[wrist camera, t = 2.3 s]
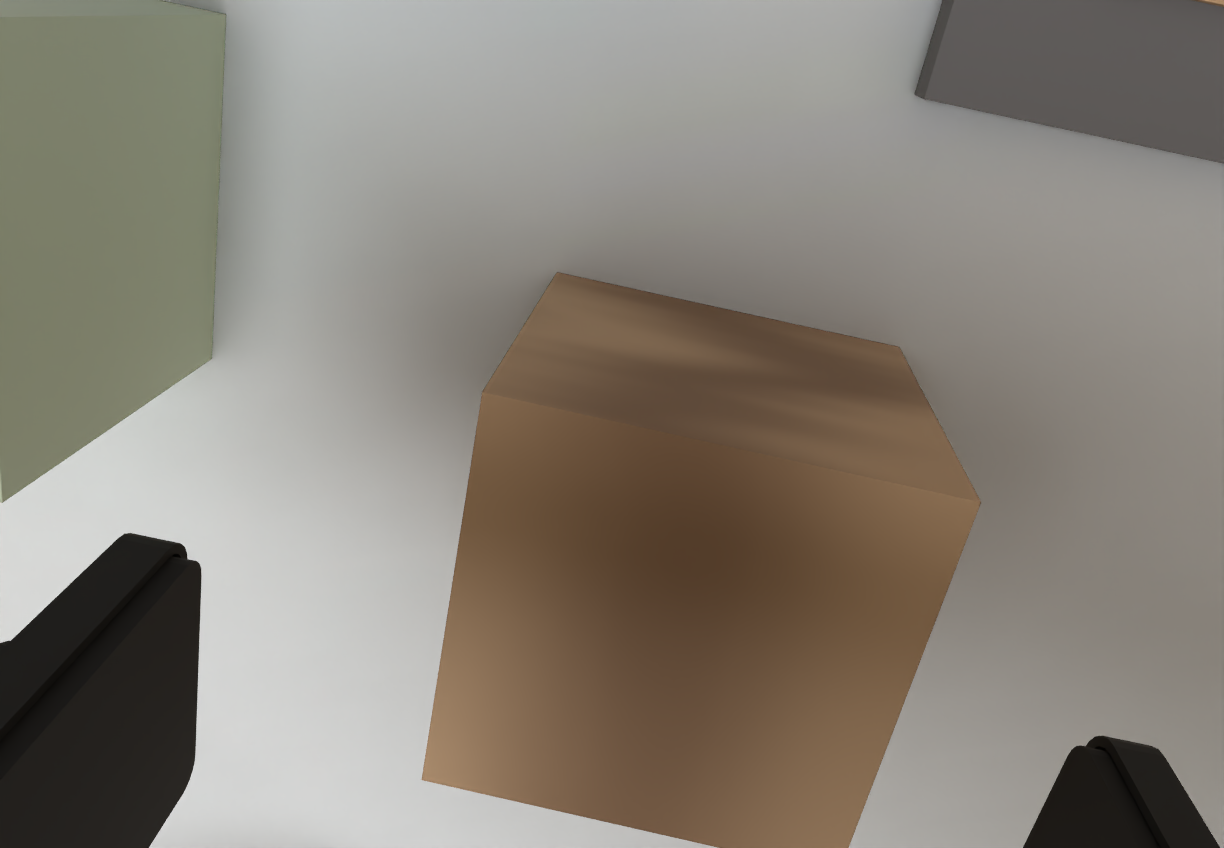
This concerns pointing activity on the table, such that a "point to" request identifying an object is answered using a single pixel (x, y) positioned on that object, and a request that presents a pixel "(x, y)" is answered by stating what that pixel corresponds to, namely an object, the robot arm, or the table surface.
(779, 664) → the walnut cube
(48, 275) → the sage cube
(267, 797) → the table surface
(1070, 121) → the tile
